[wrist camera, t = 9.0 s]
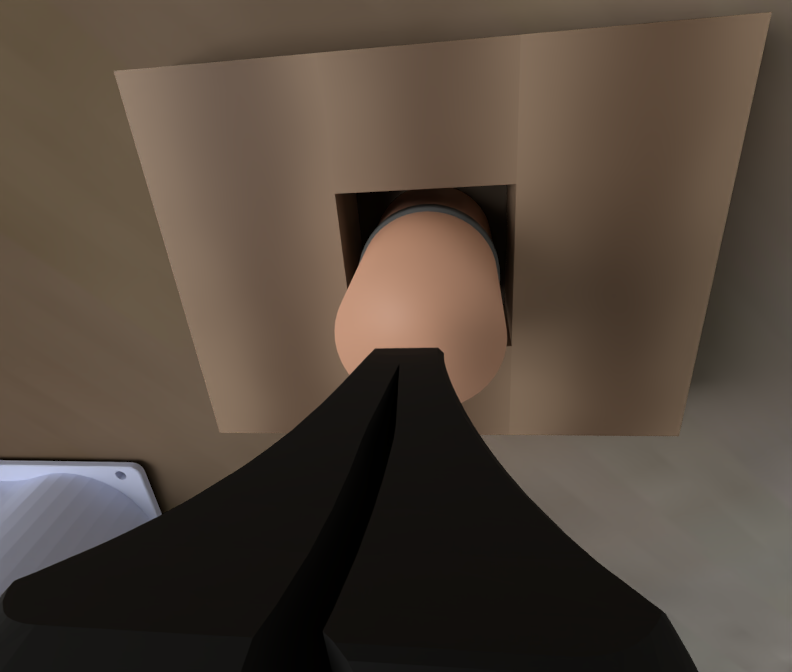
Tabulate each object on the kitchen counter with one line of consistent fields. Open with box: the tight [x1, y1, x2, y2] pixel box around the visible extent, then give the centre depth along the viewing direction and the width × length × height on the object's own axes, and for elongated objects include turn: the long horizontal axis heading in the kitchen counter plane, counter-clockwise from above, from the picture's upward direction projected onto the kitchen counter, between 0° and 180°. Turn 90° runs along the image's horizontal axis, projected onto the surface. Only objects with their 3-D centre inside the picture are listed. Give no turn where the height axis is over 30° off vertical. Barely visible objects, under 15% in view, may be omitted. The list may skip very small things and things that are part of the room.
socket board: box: [114, 12, 772, 436], centre depth 17 cm, size 16×12×3 cm
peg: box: [334, 188, 507, 403], centre depth 15 cm, size 4×4×7 cm
